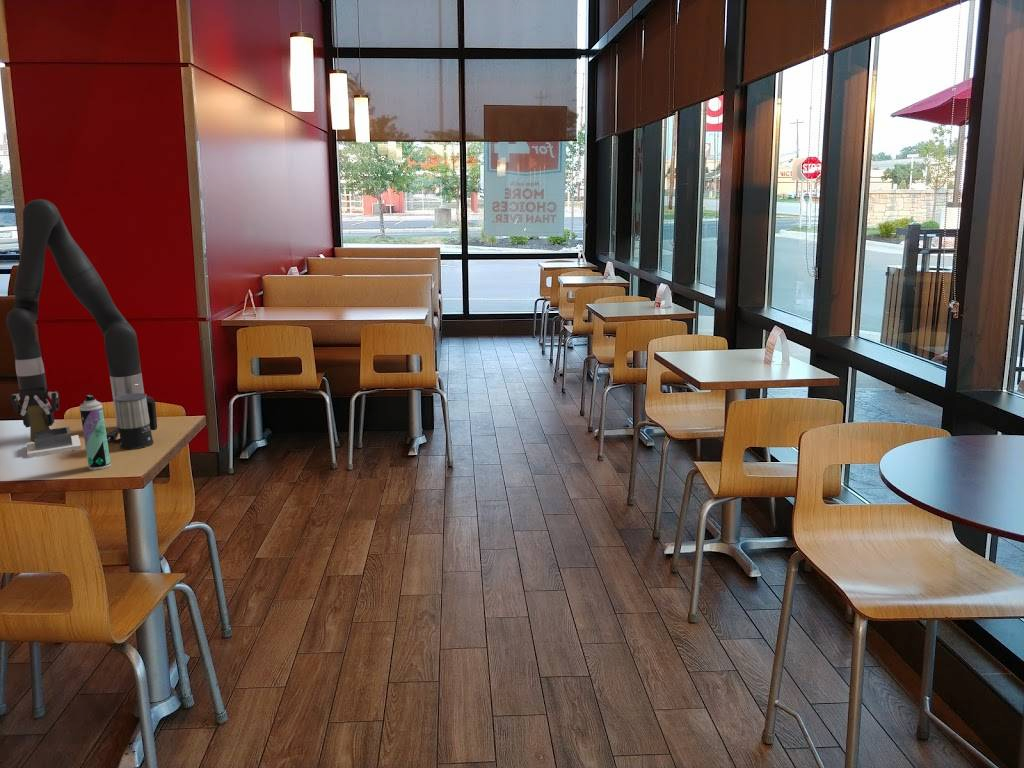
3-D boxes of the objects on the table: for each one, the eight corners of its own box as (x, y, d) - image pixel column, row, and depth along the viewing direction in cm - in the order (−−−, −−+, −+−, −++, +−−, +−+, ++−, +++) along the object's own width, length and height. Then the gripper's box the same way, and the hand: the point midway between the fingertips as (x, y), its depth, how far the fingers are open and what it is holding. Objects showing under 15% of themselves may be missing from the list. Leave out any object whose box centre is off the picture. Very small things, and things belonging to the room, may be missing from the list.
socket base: (78, 438, 277) (78, 435, 277) (81, 449, 265) (81, 445, 265) (27, 446, 271) (26, 442, 271) (27, 457, 259) (27, 453, 258)
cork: (43, 441, 276) (37, 406, 273) (25, 441, 277) (20, 406, 275) (56, 436, 281) (51, 401, 279) (39, 436, 283) (34, 401, 280)
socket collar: (70, 437, 274) (68, 426, 273) (72, 444, 266) (70, 433, 265) (35, 443, 270) (33, 431, 269) (35, 450, 261) (33, 439, 261)
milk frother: (147, 449, 262) (140, 399, 259) (92, 452, 262) (84, 402, 259) (163, 436, 276) (157, 388, 273) (110, 438, 276) (104, 391, 272)
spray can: (93, 464, 249) (82, 393, 245) (113, 463, 249) (103, 392, 245) (85, 470, 244) (74, 398, 239) (106, 469, 244) (96, 397, 240)
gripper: (60, 368, 279) (68, 421, 282) (12, 371, 278) (21, 424, 282) (49, 373, 271) (58, 428, 275) (0, 376, 271) (9, 430, 274)
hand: (39, 425), depth 278 cm, fingers open, 6 cm apart
